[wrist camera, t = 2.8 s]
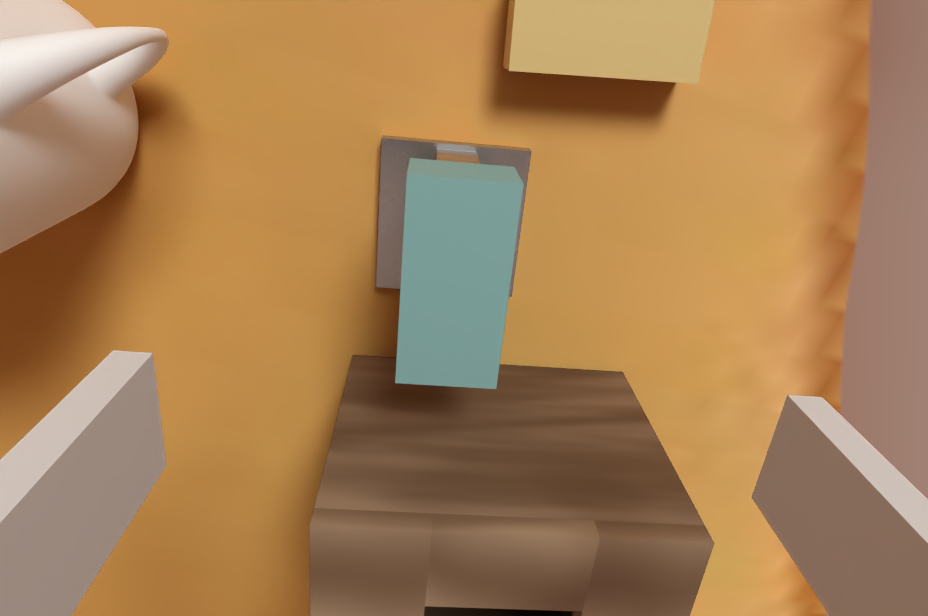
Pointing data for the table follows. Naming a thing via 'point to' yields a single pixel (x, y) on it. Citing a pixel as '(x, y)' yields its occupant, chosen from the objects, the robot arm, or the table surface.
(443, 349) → the teal rectangular block
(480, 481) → the coin box
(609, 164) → the table surface
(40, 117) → the white rounded piece
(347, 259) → the table surface
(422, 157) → the stand
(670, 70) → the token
